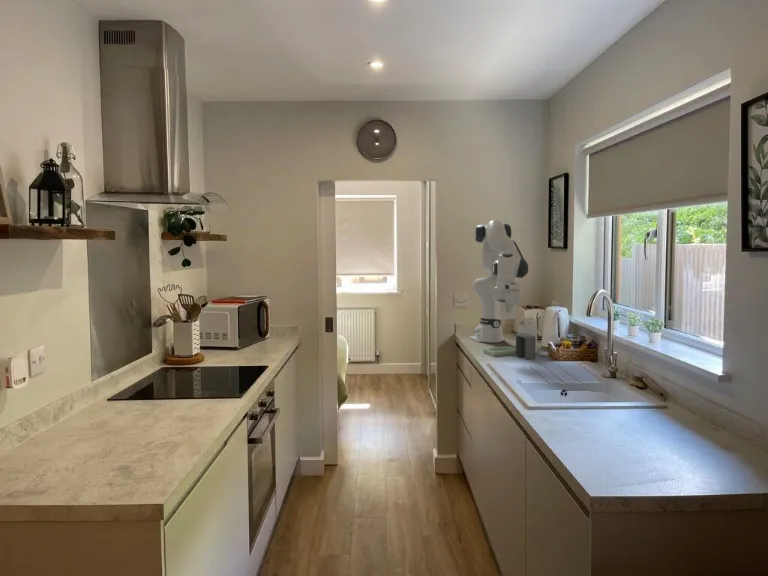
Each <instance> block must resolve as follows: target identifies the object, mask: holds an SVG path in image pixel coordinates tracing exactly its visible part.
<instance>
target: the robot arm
mask: <svg viewBox="0 0 768 576" xmlns="http://www.w3.org/2000/svg"><path fill="white" fill-rule="evenodd" d="M512 235H513V230H512V227H511V225H510V224H507V223H502V221H500V220H498V219H493V220H491V221H489V222H488V223H487V224H478V225H476V226H475V228H474V230H473V238H474V240H475V242H477V243H481V267H482V269H483V270H485V271H486V273H487V275H488V276H486V277H485V276H484V277H479V278H477V279H475V280H474V281H473V282H472V285H471V286H472V291H473V293H474V294H475V295H476V296H477V297H478V299H479V301H480V304H481V317H480V318H479V320H480V321H479V324H478V325H477V326H476V327H475V328H474V329H473V335H471V336H469V338H470V339H472V340H473V341H475V342H478V343H500V342H501V343H502V342H503V341H504V340H505V337H504V334H503V332H504V331H503V326H502V325H501V324H502V320H499V319H495V301H497V300H505V302H506V303H507V304H508V306H509V307H508V309H507V312H508V313H511V310H512V307H513V305H517V306H518V305H520V303H521V289H522V287H521V285H520V284H519V283H518V282H516V278H517V279H524V278H525V277H526V276H527V275H528V274H529V265H528V264H529V263H528V262H527V260H526V259H525V258H524V256H523V254H522V252H521V250H520V247H518V246H519V245H518V244H517V243H516V241H515V240H514V239H512Z"/></svg>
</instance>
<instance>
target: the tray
mask: <svg viewBox="0 0 768 576" xmlns="http://www.w3.org/2000/svg"><path fill="white" fill-rule="evenodd" d="M482 353H483V354H486V355H488V356H491V357H503V356H504V357H505V356H514V355H515V356H516V347H512V346H508V345H507V346H496V347H484V348H482Z"/></svg>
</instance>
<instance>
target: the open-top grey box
mask: <svg viewBox="0 0 768 576" xmlns="http://www.w3.org/2000/svg"><path fill="white" fill-rule="evenodd" d="M514 336H515V349H516V354H515V357H520V356H525V360H532V359H534V360H535V359H536V353H535V341H536V337H535V336H534V335H530V334H527V333H514Z"/></svg>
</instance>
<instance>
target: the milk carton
mask: <svg viewBox="0 0 768 576" xmlns="http://www.w3.org/2000/svg"><path fill="white" fill-rule="evenodd" d="M517 330H518V333H527V334H530V335H534V336H535V337H536V341H535V354H536V353H537V352H538V325H537V323H536V321H535V320H534V317H532V316H531V317H522V320H521V321H520V322H519V324H518V329H517Z"/></svg>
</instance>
